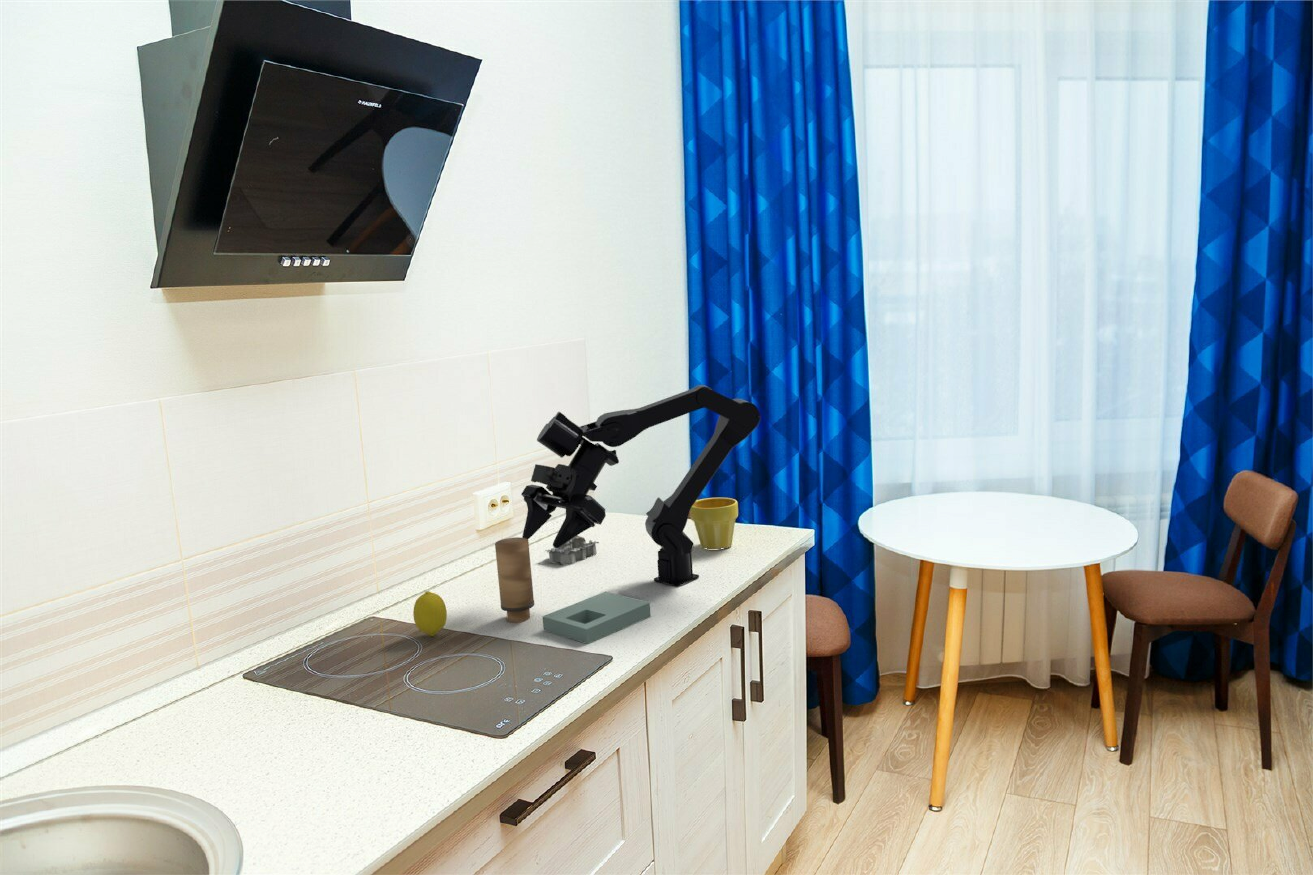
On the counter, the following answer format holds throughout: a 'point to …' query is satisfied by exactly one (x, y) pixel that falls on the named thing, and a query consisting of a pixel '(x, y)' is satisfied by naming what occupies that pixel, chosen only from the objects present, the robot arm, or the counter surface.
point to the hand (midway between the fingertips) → (539, 542)
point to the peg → (515, 578)
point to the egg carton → (572, 551)
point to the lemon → (430, 613)
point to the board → (596, 617)
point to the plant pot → (715, 521)
